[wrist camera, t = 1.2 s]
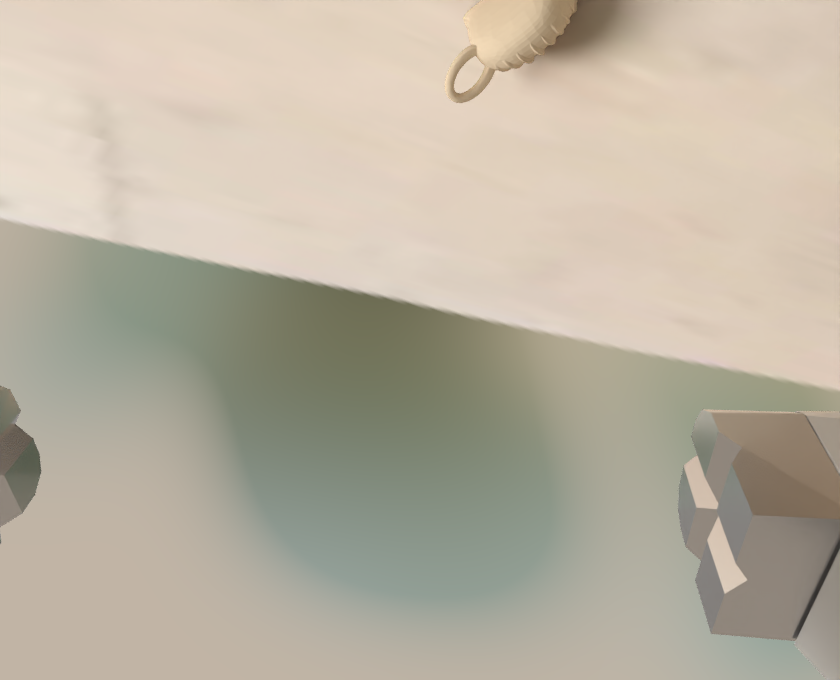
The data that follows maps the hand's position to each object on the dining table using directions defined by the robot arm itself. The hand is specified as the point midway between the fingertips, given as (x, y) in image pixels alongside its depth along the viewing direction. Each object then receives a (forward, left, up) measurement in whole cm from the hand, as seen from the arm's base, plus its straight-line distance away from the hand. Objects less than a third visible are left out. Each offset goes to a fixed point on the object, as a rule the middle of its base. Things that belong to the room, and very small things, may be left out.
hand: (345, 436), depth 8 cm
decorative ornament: (+5, -1, -38) cm, 38 cm away
